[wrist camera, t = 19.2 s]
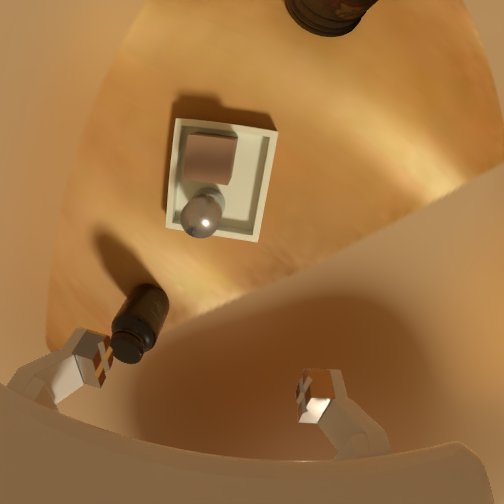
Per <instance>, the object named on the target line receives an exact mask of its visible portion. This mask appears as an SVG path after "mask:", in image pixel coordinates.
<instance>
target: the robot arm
mask: <svg viewBox="0 0 504 504" xmlns="http://www.w3.org/2000/svg"><path fill="white" fill-rule="evenodd" d="M110 344H111V339H110V336H108V335H105V334H102V333H98V332H95V331H92V330H88V329H85V328H82V327H78V328H76V329H75V331H74V332H73V334H72V335H71V336H70V338H69V339H68V341H67V342H66V344H65V345H64V347H63V348H62V350H56V351H54V352H52V353H50V354H48V355H46V356H44V357H41V358H39V359H37V360H35V361H33V362H31V363H29V364H26V365H24V366H22V367H20V368H19V369H18V370H17V371H16V373H15V374H14V376H13V377H12V379H11V380H10V382H9V383H8V385H7V386H4V385H2V384H1V383H0V504H494V500H493V495H492V491H491V487H490V483H489V480H488V477H487V473H486V470H485V467H484V464H483V462H482V460H481V458H480V457H479V456H478V455H477V454H476V453H475V452H474V451H472V450H471V449H470V448H469V447H467V446H466V445H464V444H463V443H461V442H459V441H453V442H449V443H445V444H440V445H436V446H432V447H428V448H423V449H418V450H413V451H408V452H402V453H396V454H392V452H391V448H390V445H389V441H388V438H387V434H386V431H385V430H384V429H382V428H381V427H380V426H379V425H378V424H377V423H376V422H375V421H374V420H373V419H372V418H370V417H369V416H368V415H367V414H366V413H365V412H364V411H363V410H362V409H361V408H360V407H359V406H358V405H357V404H356V403H355V402H354V401H353V400H352V399H348V397H347V393H346V390H345V385H344V382H343V378H342V374H341V371H340V370H327V369H312V368H305V369H304V370H303V373H302V379H301V380H299V382H298V385H297V389H296V402H297V403H298V404H299V407H298V409H297V415H298V422H303V423H318V425H319V427H320V428H321V430H322V431H323V432H324V434H325V435H326V436H327V438H328V439H329V440H330V441H331V443H332V444H333V445H334V447H335V448H336V449H337V451H338V454H337V455H336V456H335V457H334V458H333V459H332V460H321V461H282V460H281V461H279V460H261V459H246V458H236V457H227V456H219V455H212V454H205V453H198V452H193V451H187V450H182V449H177V448H172V447H167V446H163V445H158V444H154V443H149V442H146V441H142V440H138V439H134V438H131V437H127V436H123V435H120V434H117V433H114V432H111V431H108V430H104V429H101V428H98V427H96V426H93V425H90V424H87V423H84V422H82V421H79V420H76V419H74V418H71V417H68V416H66V415H64V414H61V413H60V411H59V409H58V408H57V406H56V404H57V403H58V402H60V401H61V400H62V399H64V398H65V397H66V396H68V395H70V394H71V393H72V392H74V391H75V390H76V389H78V388H79V387H81V386H82V385H84V383H85V384H88V385H91V386H95V387H98V388H101V387H102V385H103V383H104V381H105V379H106V375H105V372H107V371H109V370H110V368H111V366H112V363H113V349H112V348H111V347H110Z"/></svg>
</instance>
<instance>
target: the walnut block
mask: <svg viewBox="0 0 504 504" xmlns="http://www.w3.org/2000/svg"><path fill="white" fill-rule="evenodd" d="M237 141H238V137H234V136H227V135H220V134H212V133H203V132H195V133H191V134H188V138H187V146H186V154H185V163H184V172H183V179H185V180H192V181H200V182H207V183H214V184H221V185H227V186H228V184H229V182H230V180H231V177H232V172H233V166H234V160H235V153H236V147H237Z"/></svg>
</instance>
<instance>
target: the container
mask: <svg viewBox="0 0 504 504" xmlns="http://www.w3.org/2000/svg"><path fill="white" fill-rule="evenodd" d="M377 1H378V0H288V10H289V12H290V14H291V16H292V18H293V19H294V20H295V21H296V23H297V24H298V25H300V26H301V27H302V28H304V29H305V30H307V31H309V32H311V33H313V34H316V35H320V36H325V37H337V36H342V35H345V34H347V33H349V32H351V31H352V30H353V29H354V28H355V27H356V26H357V24H358V23H359V22H360V20H361V18H362V16H364V14H365V13H366V11H367V10H368V9H369V8H370V7H371V6H372V5H373V4H375V3H376V2H377Z"/></svg>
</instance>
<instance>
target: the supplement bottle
mask: <svg viewBox="0 0 504 504" xmlns="http://www.w3.org/2000/svg"><path fill="white" fill-rule="evenodd" d="M168 311H169V301H168V298H167V296H166V295H165V294H164V292H163V291H162V290H160V289H159V288H157V287H156V286H153V285H150V284H141V285H138V286H136V287H135V288H133V290H132V291H131V292H130V294H129V295H128V297H127V298H126V300H125V302H124V303H123V305H122V306H121V308H120V310H119V311H118V313H117V315H116V316H115V318H114V320H113V322H112V326H111V329H112V334H113V335H112V337H111V344H110V347H111V348H112V349H113V356H115V357H116V358H117V359H118V360H120V361H121V362H124V363H127V364H136V363H138V362H139V361H140V360H141V358H142V356H143V354H144V352H147V351H149V350H150V349H152V348H153V347H154V345H155V343H156V341H157V339H158V336H159V334H160V331H161V329H162V326H163V324H164V321H165V319H166V316H167V314H168Z"/></svg>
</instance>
